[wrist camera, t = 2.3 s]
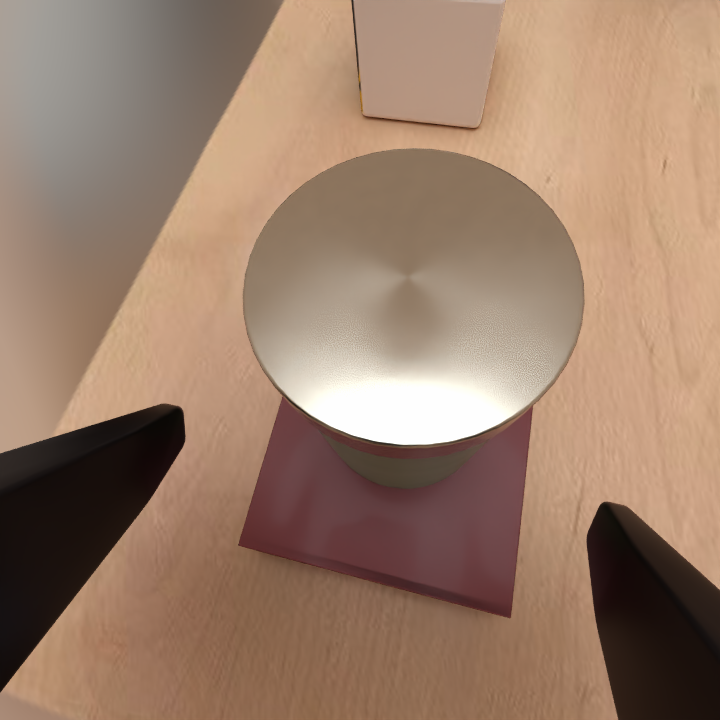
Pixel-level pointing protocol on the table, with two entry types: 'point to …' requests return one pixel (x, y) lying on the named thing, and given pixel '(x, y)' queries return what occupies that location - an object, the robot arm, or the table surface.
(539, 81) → the table surface
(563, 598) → the table surface
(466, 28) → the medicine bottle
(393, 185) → the tea tin
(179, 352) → the table surface
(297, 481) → the book
